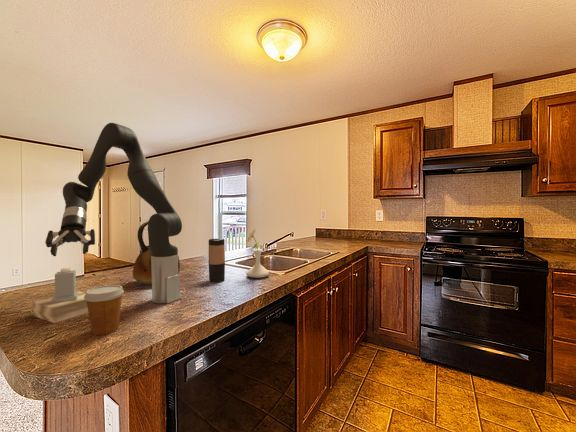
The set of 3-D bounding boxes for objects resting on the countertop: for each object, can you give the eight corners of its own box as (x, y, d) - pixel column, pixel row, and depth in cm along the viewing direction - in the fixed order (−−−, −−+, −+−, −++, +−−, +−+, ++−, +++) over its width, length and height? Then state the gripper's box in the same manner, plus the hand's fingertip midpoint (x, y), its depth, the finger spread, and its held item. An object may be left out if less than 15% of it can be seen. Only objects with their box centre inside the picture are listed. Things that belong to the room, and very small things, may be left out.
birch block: (98, 310, 95) (98, 295, 95) (54, 324, 84) (53, 308, 84) (77, 304, 101) (77, 291, 101) (33, 317, 89) (32, 301, 89)
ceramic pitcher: (187, 281, 130) (186, 219, 130) (143, 291, 115) (141, 220, 114) (168, 274, 143) (168, 218, 142) (126, 282, 128) (125, 219, 127)
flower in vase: (254, 273, 147) (254, 226, 146) (273, 275, 142) (272, 227, 141) (240, 278, 135) (239, 228, 134) (259, 281, 130) (259, 229, 129)
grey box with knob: (79, 294, 97) (78, 266, 96) (76, 299, 91) (76, 269, 91) (55, 297, 93) (55, 268, 93) (51, 303, 88) (51, 271, 88)
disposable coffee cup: (98, 323, 83) (97, 284, 83) (130, 322, 84) (130, 284, 83) (76, 338, 74) (75, 294, 73) (113, 337, 74) (112, 294, 74)
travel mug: (210, 283, 127) (210, 240, 126) (207, 279, 134) (206, 239, 133) (226, 281, 130) (226, 239, 130) (222, 277, 137) (222, 238, 136)
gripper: (48, 214, 101) (41, 249, 92) (95, 213, 108) (92, 246, 99) (52, 227, 106) (45, 262, 96) (97, 226, 113) (94, 258, 104)
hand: (69, 253), depth 98 cm, fingers open, 8 cm apart
